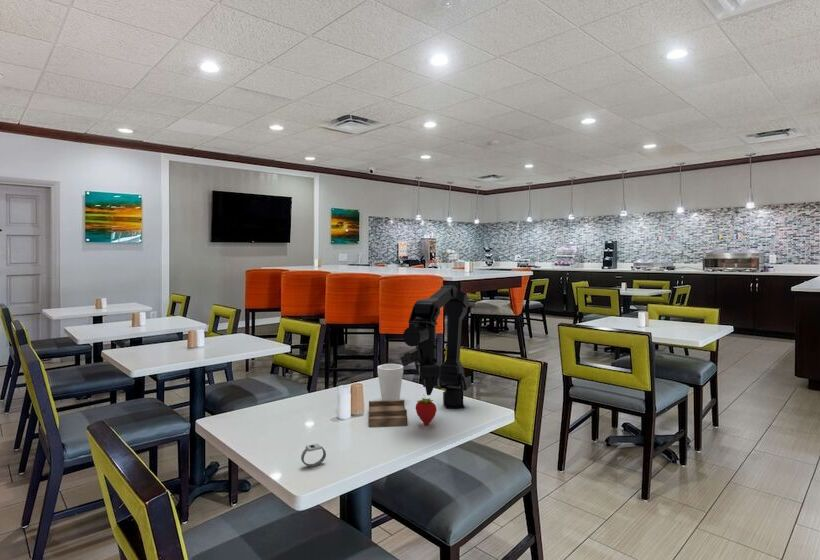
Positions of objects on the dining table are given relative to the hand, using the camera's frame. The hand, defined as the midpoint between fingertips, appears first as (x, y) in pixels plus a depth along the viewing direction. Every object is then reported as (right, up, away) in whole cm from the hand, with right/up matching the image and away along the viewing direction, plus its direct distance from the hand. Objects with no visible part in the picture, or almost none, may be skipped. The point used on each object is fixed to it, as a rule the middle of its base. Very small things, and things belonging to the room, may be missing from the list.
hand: (426, 390), depth 147 cm
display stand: (-13, -11, +8) cm, 19 cm away
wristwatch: (-30, -13, -27) cm, 42 cm away
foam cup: (-12, -10, +25) cm, 30 cm away
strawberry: (0, -11, +1) cm, 11 cm away
